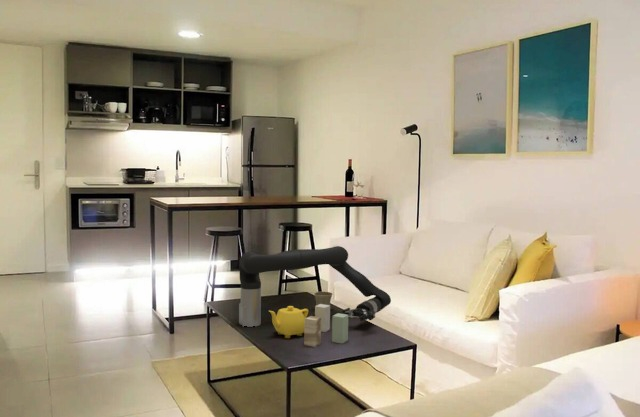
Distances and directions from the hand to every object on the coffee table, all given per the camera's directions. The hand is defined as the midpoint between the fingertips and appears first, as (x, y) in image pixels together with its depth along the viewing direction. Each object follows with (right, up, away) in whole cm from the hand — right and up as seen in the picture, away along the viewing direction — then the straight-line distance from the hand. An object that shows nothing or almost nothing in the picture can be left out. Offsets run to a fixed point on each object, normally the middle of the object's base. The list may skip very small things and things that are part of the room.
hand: (352, 317), depth 245 cm
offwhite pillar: (-13, -7, +6) cm, 16 cm away
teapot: (-28, -7, -2) cm, 29 cm away
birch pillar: (-17, -8, -14) cm, 24 cm away
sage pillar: (-6, -8, -9) cm, 13 cm away
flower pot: (-13, -4, +39) cm, 42 cm away
